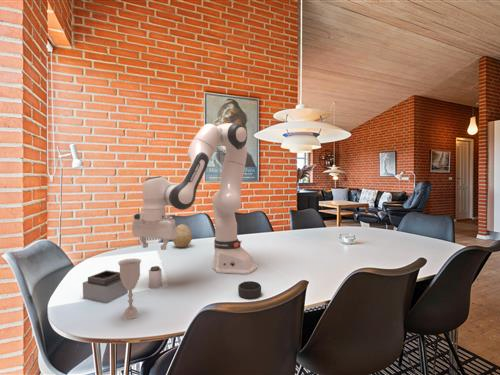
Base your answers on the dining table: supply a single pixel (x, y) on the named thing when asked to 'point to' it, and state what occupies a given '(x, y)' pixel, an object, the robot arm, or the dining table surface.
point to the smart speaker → (249, 290)
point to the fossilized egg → (182, 236)
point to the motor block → (104, 287)
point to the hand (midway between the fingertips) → (154, 248)
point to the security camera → (155, 277)
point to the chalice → (130, 282)
